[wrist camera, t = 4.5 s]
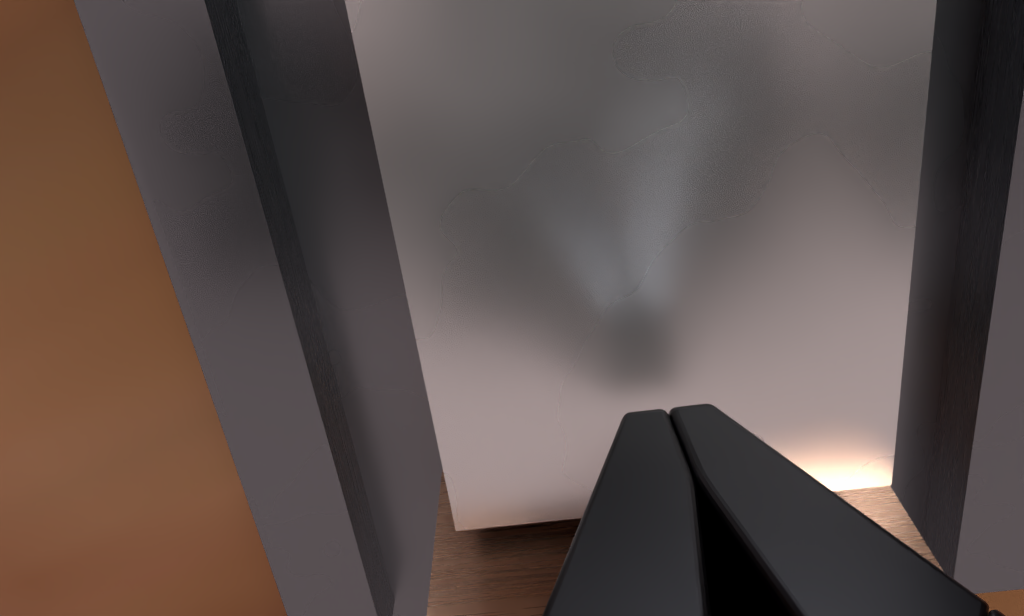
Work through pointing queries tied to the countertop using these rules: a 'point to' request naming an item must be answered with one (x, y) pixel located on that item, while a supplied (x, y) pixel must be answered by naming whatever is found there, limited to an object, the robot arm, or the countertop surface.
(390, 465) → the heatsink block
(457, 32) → the bar
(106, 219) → the countertop surface
